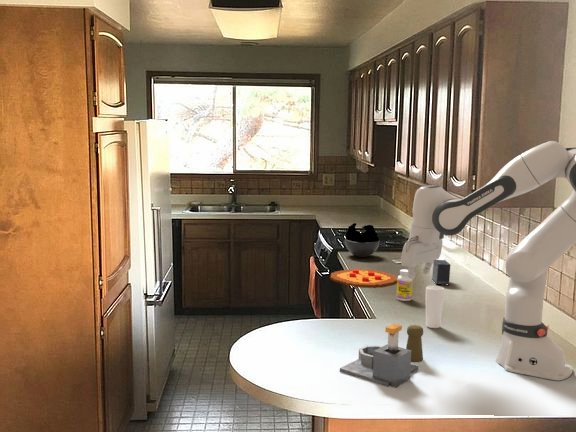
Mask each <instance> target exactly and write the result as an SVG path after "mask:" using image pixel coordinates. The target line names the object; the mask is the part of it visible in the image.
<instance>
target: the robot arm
mask: <svg viewBox="0 0 576 432" xmlns="http://www.w3.org/2000/svg"><path fill="white" fill-rule="evenodd" d="M558 178H562V179H563V178H564V179H566V180H567V181H568V182H569V184H570V185H571V187H572V188H573V189H572V192H571V193H570V195H569V197H567V198H566V199H565V200H564V201H563V202H561V204H559V205H558V207H557V208H555V209H554V210H553V211H552V212H551V213H550V214H549V215H548V216H547V217H546V218H544V220H543V221H541V223H540V224H538V225H537V226H536V228H534V229H533V230H532V231H531V232H530V233H529V234H528V235H526V236H525V238H523V239H522V240H521V241H520V242H519V243H518V244H517V245H515V246H514V247H513V249H512V250H511V251H509V252H508V253H507V256H506V258H505V265H504V266H505V271H506V273H507V275H508V276H509V280H508V281H509V282H508V286H507V291H506V295H505V307H504V317H503V320H502V322H501V323H502V324H501V334H502V337H501V343H500V347H499V350H498V353H497V355H496V358H495V361H496V362H497V363H498V364H499V365H500V366H502V367H503V368H504V370H505V371H507V372H510V373H516V374H522V375H527V376H531V377H536V378H540V379H541V378H542V379H547V380H552V381H562V380H566V379H567V378H569V377H571V375H573V367H572V366H571V365H570V364H566V358H565V353H564V350H563V349H562V348H561V347H560V346H559V345H558V344H557V343H556V342H555V341H553V340H552V338H550V336H548V330H549V328H550V325H545V324H544V322H542V320H543V308H544V300H545V299H544V298H545V293H546V286H547V285H546V284H547V278H548V271H549V268H550V267H551V266H553V264H554V263H555V262H557V261H558V260H559V259H560V258H561V257H562V256H564V254H565V253H566V252H567V251H568V250H570V249H571V248H572V247H573V246H574V245H575V244H576V147H565V146H564V145H563V144H561V143H560V142H558V141H555V140H549V141H547V142H546V141H545V142H544V143H541V144H539V145H536V146H534V147H531V148H530V149H527V150H526V151H524V152H522V153H521V154H519V155H517V156H516V157H514V158H513V159H511V160H510V161H508V163H506V164H505V165H504V166H503V167H502V168H500V169H499V171H498V172H497V173H496V174H495V176H493V178H491V180H490V181H488V182H487V183H486V184H484V185H483V186H481V187H480V188H478V189H477V190H475V191H473V192H471V193H470V194H468V195H467V196H465V197H463V198H459V197H457V196H456V195H453V194H450V192H448V191H446V190H445V189H444V188H443V187H442V186H440V185H437V184H428V185H423V186H420V187H419V188H418V189H417V190H416V192H415V194H414V199H413V204H412V211H411V212H412V220H411V221H410V229H409V238H408V240H407V241H406V242H405V243H404V245H403V247H402V252H401V257H400V264H401V266H403V267H406V270H408V273H409V275H408V278H410V279H413V280H414V279H415V278H416V275H417V273H416V272H415V269H416V266H419V265H423V264H424V267H423V269H422V274H424V275H427V274H430V272H431V268H432V267H433V260H440V257H441V255H442V249H443V239H444V238H445V236H456V235H458V234H459V233H460V232H462V231H463V230H464V229H465V228H466V226H467V224H468V223H469V222H470V220H471V219H473V218H475V217H476V216H477V215H480V214H482V213H483V212H484V211H486V210H488V209H490V208H492V207H493V206H495V205H497V204H498V203H500V202H503V201H506V200H509V199H512V198H516V197H518V196H521V195H524V194H527V193H528V192H531V191H533V190H535V189H538V188H539V187H541V186H542V185H545V184H546V183H548V182H549V181H551V180H554V179H558Z"/></svg>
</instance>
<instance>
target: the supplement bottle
mask: <svg viewBox="0 0 576 432" xmlns="http://www.w3.org/2000/svg"><path fill="white" fill-rule="evenodd" d="M399 274H400V275H398V276H397V277H396V278H397V283H396V299H397V300H398V301H401V302H409V301H412V299H413V298H412V297H413V286H414V284H413V282H414V281H413V280H414V279H410V278H408V275H409V273H408V269H407V268H406V269H405V268H404V269H400V270H399Z"/></svg>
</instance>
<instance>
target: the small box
mask: <svg viewBox="0 0 576 432" xmlns="http://www.w3.org/2000/svg"><path fill="white" fill-rule="evenodd" d="M431 275H432V277H431V281H432V280H433V281H434V282H435V283H436V284H449V285H450V277H451V276H450V275H451V264H450V263H449V262H448V261H447V260H446V259H444V260H443V259H436V260H433V264H432V274H431ZM433 281H432V282H433ZM434 282H433V283H434ZM435 283H434V284H435ZM436 284H435V285H436Z"/></svg>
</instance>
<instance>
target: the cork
mask: <svg viewBox="0 0 576 432" xmlns="http://www.w3.org/2000/svg"><path fill="white" fill-rule="evenodd" d="M406 333H407V336H408V337H407V340H406V347H405V349H408V350H411V363H421V362H424V355H423V353H424V352H423V341H422V337H423V335H424V328H423V327H422V326H421V325H417V324H411V325H408V327H407V329H406Z"/></svg>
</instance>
